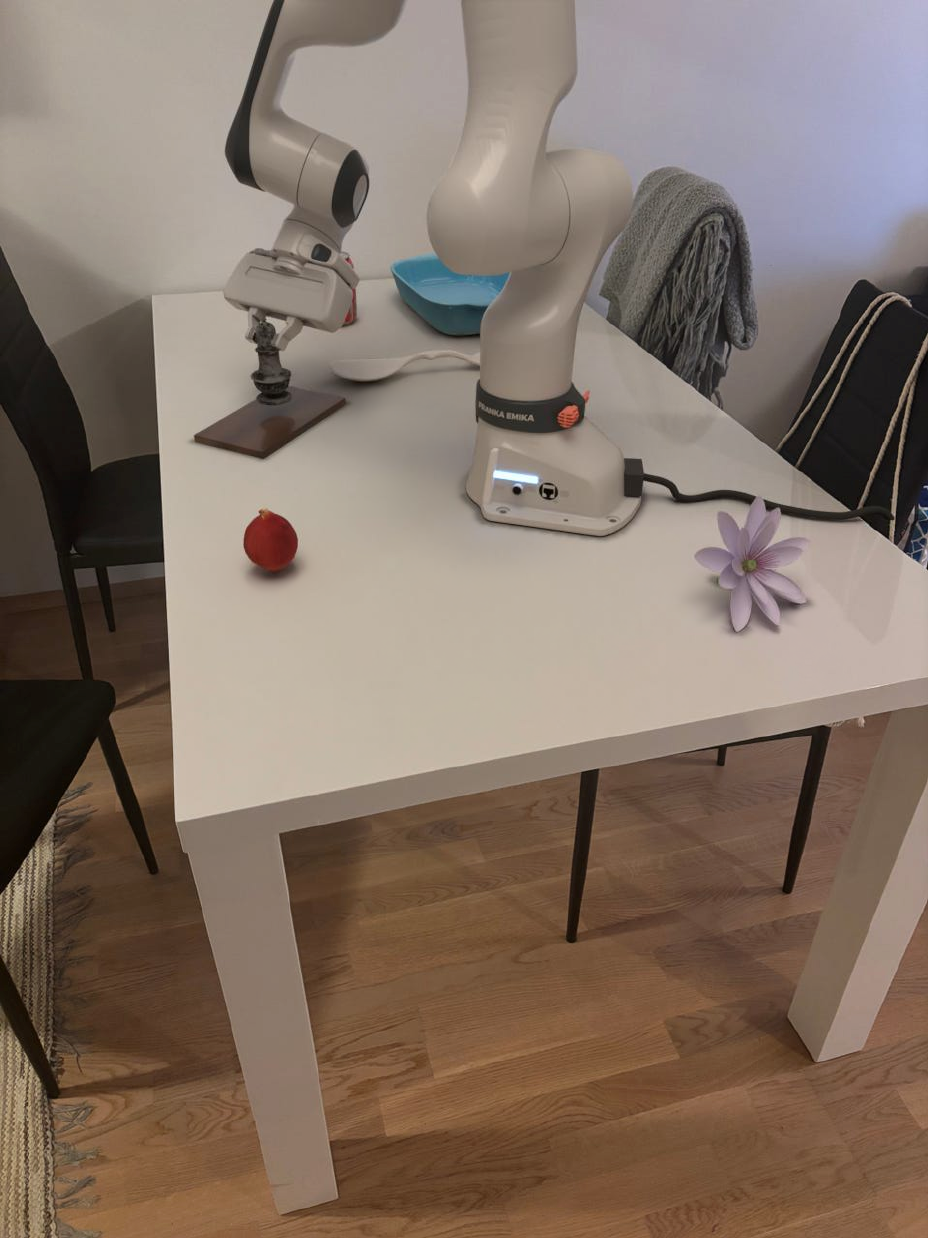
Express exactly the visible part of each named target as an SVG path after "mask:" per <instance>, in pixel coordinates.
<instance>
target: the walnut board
mask: <svg viewBox="0 0 928 1238" xmlns="http://www.w3.org/2000/svg"><path fill="white" fill-rule="evenodd" d="M285 391H287V392H289V393H291V394H292V399H291V400H290V401H289V402H287V403H284V404H280V405H263V404H260V403H258V402H257V401H256V398H255V399H254V400H252V401H250V402H249V403H248V402H247V404H245V405H243V406H242V407H240V408H238V409H236V410H235V411H233V412H230V414H228V415H226V416H224V417H222V418H220V420H217V421H216V422H214V423H212V424H211V425H209V426H207V427H206V428H204V429H202V430H200V431H198V432H196V433H195V434H194V435H193V438H194V442H196V443H198V444H199V443H200V444H203V445H207V446H211V447H215V448H218V449H219V448H220V449H224V450H228V451H230V452H231V451H232V452H236V453H240V454H243V455H248V456H251V457H254V458H255V457H256V458H259V459H265V458H267V457H268V456H270V455H271V454H273V453H274V452H276V451H277V450H279V449H280V448H282V447H284V446H285V445H287V443H289V442H290V441H292V440H294V439H295V438H297V437H298V436H299V435H301V434H302V433H303V434H304V432H306V431H307V430H309V429H311V427H314V426H315V425H316V424H318V423H319V422H322V420H323V419H326V418H327V417H328V416H330V415H332V414H333V413H335V412H336V411H338V410H339V409H340V408H342V407H344V406H345V405H346V404H347V399H346V397H344V396H339V395H334V394H330V393H325V392H320V391H316V390H310V389H306V388H301V387H296V386H291V385H289V386H288V388H287V389H286V390H285Z"/></svg>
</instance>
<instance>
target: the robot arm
mask: <svg viewBox="0 0 928 1238" xmlns="http://www.w3.org/2000/svg"><path fill="white" fill-rule="evenodd" d="M575 2H576V1H575V0H460V9H461V19H462V30H463V32H462V33H463V42H464V55H465V58H464V59H465V73H466V74H465V75H466V99H465V100H466V102H465V108H464V109H465V110H464V116H463V122H462V128H461V130H460V131H461V132H460V136H459V140H458V144H457V146H456V149H455V152H454V154H453V157H452V159H451V161H450V163H449V164H448V168H447V169H446V170H445V172H444V174H443V175H442V176H441V178H440V179H439V180H438V182H437V183H436V184H435V185H434V187H433V189H432V191H431V194H430V197H429V200H428V203H427V208H426V217H425V219H426V220H425V221H426V231H427V235H428V239H429V242H430V245H431V247H432V249H433V251H434V253H436V255H437V256H438V258H439V259H440V260H441V262H442V263H443V264H444V265H445V266H446V267H447V268H448V269H449V270H451V271H453V272H455V273H457V274H462V275H479V276H495V275H501V274H505V273H509V272H510V275H509V277H508V279H507V282H506V284H505V285H504V287H503V289H502V291H501V292H500V293H499V295H498V296H497V297H496V298H495V299H494V300H493V302H492V303H491V304H490V305H489V306H488V308H487V309H486V311H485V313H484V315H483V318H482V321H481V327H480V328H481V329H480V333H479V336H480V337H479V338H480V340H479V341H480V343H479V351H480V366H479V379H477V381H476V385H475V386H476V388H475V400H474V403H475V404H474V407H475V408H474V410H475V422H476V424H477V430H476V439H475V446H474V451H473V458H472V462H471V466H470V470H469V473H468V476H467V479H466V482H465V491H466V493H467V495H468V497H469V498H470V499H471V500H472V501H473V502H474V503H475V504H476V505H477V506H479V508H480V511H481V514H482V516H483V518H484V519H485V520H487V521H489V522H495V523H503V524H510V525H511V524H512V525H516V526H526V527H532V528H538V529H539V528H540V529H546V530H553V531H561V532H567V533H573V534H583V535H587V536H588V535H589V536H597V537H603V536H607V535H611V534H613V533H615V532H617V531H619V530H620V529H622V528H624V527H625V526H627V524H628V523H629V522H630V521H632V519H633V518H634V517H635V515H636V514H637V512H638V510H639V508H640V507H641V504H642V494H643V487H644V482H646V483H652V484H655V485H656V484H657V485H660V486H663V487H665V488H667V489H668V490H669V492H670V494H671V496H672V497H673V498H674V500H676V501H678V502H681V503H686V504H688V503H689V504H692V503H699V502H705V501H709V500H712V499H719V498H728V499H729V498H730V499H736V500H741V501H744V502H747V503H751V504H752V503H753V501H754V500H755V498H756V497H757V496H758V495H753V494H751V493H748V492H743V491H739V490H733V489H715V490H711V491H706V492H702V493H699V494H693V495H691V494H690V495H689V494H684V493H681V492H680V491H679V489H678V487H677V486H676V484H675V483H674V482H673V481H672V480H670V479H668V478H665V477H663V476H660V475H655V474H651V473H650V474H649V473H646V472H645V471H644V464H643V461H642V460H643V459H642V458H633V457H631V458H630V457H624V454H623V451H622V449H621V448H620V447H619V445H617V444H616V443H615V442H613V441H612V440H611V438H609V437H608V436H606V434H605V433H603V432H602V431H601V430H600V429H599V428H598V427H597V426H596V425H595V424H594V423H593V422H592V421H591V420H589V419H588V417H586V416H585V413H586V404H587V403H588V402H589V401H590V390H589V389H588V390H586V392H585V393H584V394H583V395H582V394H581V392H580V391H578V389H577V388H576V386H575V384H574V382H573V371H574V370H573V369H574V360H575V351H576V350H575V349H576V341H577V332H578V327H579V326H578V325H579V322H580V316H581V312H582V310H583V306H584V303H585V300H586V297H587V294H588V291H589V289H590V286H591V284H592V281H593V279H594V276H595V274H596V272H597V270H598V268H599V265H600V264H601V262H602V260H603V258H604V256H605V254H606V253H607V251H608V250H609V248H610V247H611V246H612V244H613V243H614V241H615V240H616V239H617V237H618V236H620V234H622V232H623V231H624V229H625V228H626V226H627V225H628V223H629V221H630V218H631V215H632V211H633V210H632V209H633V203H634V194H633V193H634V192H633V184H632V181H631V178H630V174H629V172H628V170H627V168H626V167H625V165H624V163H622V161H621V159H619V158H618V157H617V156H615V155H614V154H612V153H610V152H608V151H602V150H598V149H592V148H587V147H586V148H585V147H578V146H577V147H576V146H572V147H567V148H559V149H554V150H547V144H548V139H549V133H550V129H551V124H552V121H553V118H554V116H555V113H556V110H557V109H558V107H559V105H560V103H562V101H563V100H564V99H565V98H567V96H568V95H569V94H570V93H571V91H572V89H573V88H574V86H575V83H576V80H577V78H578V73H579V65H578V64H579V61H578V42H577V22H576V3H575ZM407 3H408V0H273V1H272V4H271V5H270V8H269V12H268V14H267V17H266V20H265V23H264V25H263V29H262V32H261V35H260V38H259V42H258V45H257V48H256V52H255V54H254V58H253V61H252V64H251V68H250V71H249V74H248V77H247V80H246V84H245V87H244V91H243V95H242V97H241V100H240V103H239V105H238V108H237V109H236V113H235V115H234V118H233V120H232V122H231V125H230V127H229V130H228V133H227V136H226V139H225V146H224V156H225V159H226V161H227V164H228V166H229V168H230V170H231V172H232V173H233V175H234V177H235V179H236V180H237V182H238V183H240V184H242V185H244V186H247V187H250V188H253V189H256V190H258V191H260V192H266V193H268V194H270V195H272V196H275V197H277V198H279V199H281V200H283V201H285V202H287V203H290V204H292V205H293V206H292V208H291V211H289V213H288V214H287V215H286V216H285V218H284V220H283V221H282V224H281V225H280V227H279V230H278V232H277V235H276V237H275V239H274V242H273V244H272V246H271V248H270V249H264V248H261V247H255V248H254V249H253V250H250V251H249V252H246V253H245V254H244V256H243V257H242V258H241V259H240V260H239V262H238V263H237V264H236V266H235V267H234V269H233V271H232V273H231V275H230V276H229V278H228V280H227V282H226V283H225V286H224V288H223V291H222V293H223V299H224V300H225V301H226V302H228V304H230V305H231V306H232V307H234V308H235V309H237V310H239V311H244V312H246V313H247V325H248V327H247V330H246V332H245V334H244V337H245V338H244V339H245V340H246V341H248V342H249V343H250V344H255V345H257V339H256V332H255V328H256V326H257V325H258V324H260V323H261V322H263V321H262V318H263V317H265V318H266V319H267V318H271V319H274V320H279V321H284V322H285V324H286V325H285V326H284V327H283V329H282V330H280V331H279V332H278V333H277V332H276V333H274V335H273V339H272V340H271V342H270V344H271V346H272V347H274V349H277V350H280V351H279V352H285V351H286V350H287V347H288V345H289V342H291V341H292V340H293V339H294V338H296V337H297V336H298V335H299V334H300V333H301V332H302V330H303V328H304V327H307V328H311V329H316V330H320V331H323V332H327V333H331V334H333V333H335V332H337V331H338V330H340V329H341V328H342V327H343V326H344V325H343V323H344V321H345V318H346V316H347V314H348V311H349V308H350V306H351V303H352V299H353V292H352V289H355V288H357V287H358V285H359V283H360V280H361V279H360V276H359V274H358V273H357V272H356V270H355V268H354V269H353V268H352V267H351V266H350V264H349V263H348V262H347V261H346V260H345V259H344V258H343V257H342V256H341V255H340V253H341V251H342V248H343V242H344V238H345V237H346V235H347V234H348V233H349V232H350V231H351V229H352V227H354V224H355V222H356V221H358V219H359V216H360V214H361V212H362V210H363V208H364V205H365V203H366V201H367V198H368V195H369V190H370V167H369V163H368V161H367V160H366V157H365V156H364V155H363V154H362V153H361V152H360V151H359V150H358V149H357V148H356V147H355V146H353V145H351V144H350V143H347V142H345V141H342V140H340V139H339V138H336V137H334V136H333V135H332V136H331V135H330V134H327V133H325V132H322V131H320V130H317V129H315V128H313V127H311V126H309V125H307V124H305V123H302V122H301V121H299V120H297V119H294V118H292V117H290V116H289V115H288V114H287V113H286V112H285V111H284V110H283V108H282V105H281V100H282V98H283V95H284V91H285V89H286V86H287V83H288V80H289V77H290V75H291V71H292V68H293V65H294V62H295V59H296V57H297V54H298V52H299V50H302V49H306V48H313V47H315V48H317V47H323V48H325V47H328V48H341V49H350V48H360V47H365V46H369V45H372V44H376V43H377V42H379V41H381V40H382V39H384V38H386V37H387V36H389V34H392V32H393V30H394V29H395V28H396V27H397V26H399V23H400V22H401V20H402V16H403V14H404V11H405V9H406V5H407ZM342 325H343V326H342ZM762 499H763V501H764V503H765V508H766V510H767V509H768V510H771V511H773V510H774V509H776V508H780V511H781V514H782V513H783V514H787V515H793V516H799V517H803V518H810V519H818V520H830V521H845V520H851V519H855V518H859V517H863V516H867V515H880V516H881V517H883V518H884V519H885V520H887V521H895V520H896V518H895V516H894V515H893V513H892V512H891V511H890V510H888V509H887V508H885V507H883V506H880V505H870V506H864V507H860V508H857V509H852V510H848V511H824V510H817V509H816V510H815V509H808V508H802V507H796V506H792V505H786V504H783V503H778V502H774V501H770V500H768V499H765V498H762Z"/></svg>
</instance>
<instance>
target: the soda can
mask: <svg viewBox="0 0 928 1238" xmlns="http://www.w3.org/2000/svg"><path fill="white" fill-rule="evenodd" d="M340 255H341V256H342V257H343V258H344V259H345V260H346V261H347V262H348V263H349V264H350V266H351V267H352V268H353V269H354V270H355V267H354V262H353V261H352V259H351V257H350V256H351V255H350V253H348V252H346V251H342V250H341V253H340ZM356 288H357V287H356ZM356 288H355V289H352V292H353V299H352V303H351V306H350V308H349V311H348V314H347V316H346V318H345V321H344V323H343V325H342V326H341V327H343V326H348V325H351V323H353V321H355V320H356V319H357V318H358V317H357V315H358V305H357V289H356Z"/></svg>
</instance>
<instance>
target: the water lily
mask: <svg viewBox="0 0 928 1238" xmlns="http://www.w3.org/2000/svg"><path fill="white" fill-rule="evenodd" d="M756 496H757V497H756V498H755V500H754V501H753V503H751V505H750V507H749V509H748V512H747V514H746V517H745V522H744V526H743V527H739V525H738V524H737V523H738V522H737V521H736V520H735V519H734V517H733V516H732V515H730V514H729V513H728V512H727V511H723V510H718V511H717V514H716V518H717V519H716V520H717V525H718V531H719V534H720V538H721V539H722V542H723V544H724V546H725V548H726V549H727V550H726V549H724V548H721V547H716V546H708V547H703V548H701V549H698V550H697V551H696V552H695V553H694V555H693V557H694V559H695V561H696V562H697V563H698V564H699V565H700V566H702V567H703V568H704V569H707V570H709V571H711V572H713V573H717V574H719V576H717V577H716V581H717V582H718V585H719V587H722V588H723V589H727V590H731V594H730V601H729V602H730V603H729V608H730V609H729V610H730V617H731V621H732V626H733V629H734V631H735V632H736V633H739V632H740V631H742V630H743V629H744V628H745V627H746V625H747V624H748V622H749V620H750V617H751V613H752V607H753V603H752V602H753V599H754V601H755V603H756V604H757V606H758V607H759V609H760V610H761V612H762V613H763V614H764V615H765V616H766V617H767V618H768V619H769V620H770V621H771V622H772V623H773V624H774V625H776V626H777V627H779V626H780V624H781V611H780V608H779V606H778V604H777V602H776V600H775V598H774V596H773V595H772V594H771V593H773V594H775V595H777V596H778V597H780V598H782V599H784V600H786V601H789V602H792V603H795V604H801V605H802V604H806V603H807V597H806V595H805V593H804V591H803V590H802V589H801V587H800V586H799V585H798V584H797V583H796V582H794V581H793V580H792V579H791V578H789V577H787V576H785V575H784V574H782V573H779V572H778V571H777V570H776V568H777V569H778V568H781V567H785V566H788V565H790V564H793V563H794V562H796V561H798V560H799V559H800V558H801V557H802V556H803V554H804V552H806V551H807V549H808V548H809V547H810V545H811V539H809V538H807V537H803V536H794V537H789V538H786V539H783V540H781V541H778V542H776V543H773V544H771V545H770V543H771V541H772V540H773V538H774V537H775V535H776V533H777V532H778V529H779V526H780V523H781V518H782V517H781V516H782V512H781V511H780V508H776V509H774V510H771V511H770V512H769V513H767V508H765V503H764V501H763V499H764V498H763V497H762V496H761V495H756ZM768 545H769V546H768ZM770 592H771V593H770ZM752 597H753V599H752Z"/></svg>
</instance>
